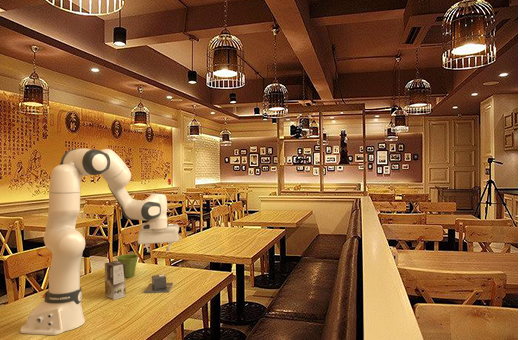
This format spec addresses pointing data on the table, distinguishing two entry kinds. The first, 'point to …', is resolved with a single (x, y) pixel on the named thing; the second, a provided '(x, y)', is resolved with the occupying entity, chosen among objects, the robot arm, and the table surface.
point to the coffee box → (115, 280)
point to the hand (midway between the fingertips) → (158, 251)
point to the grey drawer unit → (159, 281)
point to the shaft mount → (160, 290)
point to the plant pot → (128, 263)
